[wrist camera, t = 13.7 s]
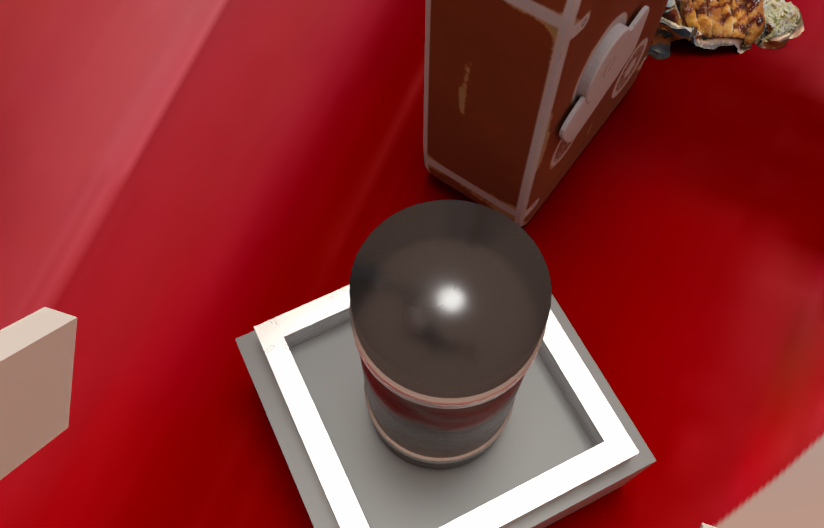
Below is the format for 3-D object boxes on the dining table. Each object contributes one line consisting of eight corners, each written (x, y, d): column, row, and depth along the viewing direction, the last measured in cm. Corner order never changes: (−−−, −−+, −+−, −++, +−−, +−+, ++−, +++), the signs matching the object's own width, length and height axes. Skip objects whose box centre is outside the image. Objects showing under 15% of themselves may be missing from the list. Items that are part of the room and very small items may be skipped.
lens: (405, 498, 32) (401, 425, 21) (344, 369, 34) (313, 244, 24) (535, 431, 33) (595, 331, 22) (467, 311, 36) (491, 168, 25)
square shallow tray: (362, 625, 35) (353, 622, 30) (259, 379, 40) (235, 339, 35) (622, 486, 38) (656, 460, 33) (493, 272, 43) (505, 219, 38)
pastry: (809, 55, 50) (835, 15, 47) (628, 65, 50) (642, 26, 47) (778, -23, 53) (801, -65, 50) (608, -13, 53) (620, -55, 50)
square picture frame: (371, 597, 30) (370, 595, 29) (260, 339, 35) (253, 326, 34) (629, 460, 33) (639, 452, 31) (492, 235, 37) (495, 220, 36)
